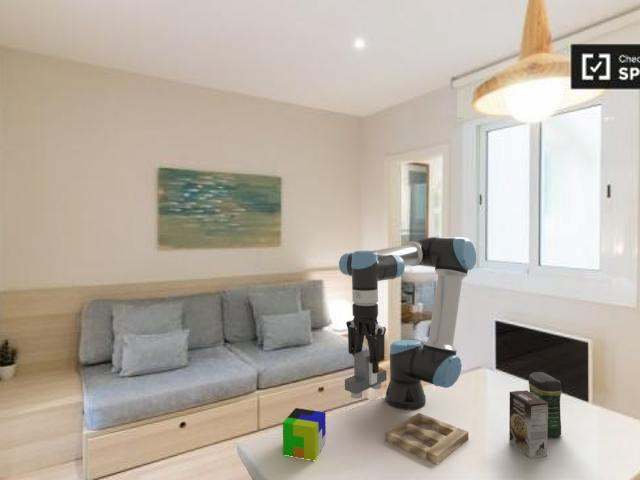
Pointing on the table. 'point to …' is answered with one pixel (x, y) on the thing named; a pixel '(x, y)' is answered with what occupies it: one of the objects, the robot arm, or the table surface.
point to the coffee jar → (548, 399)
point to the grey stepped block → (363, 375)
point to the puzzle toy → (304, 433)
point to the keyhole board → (427, 437)
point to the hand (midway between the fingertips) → (366, 380)
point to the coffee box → (528, 423)
